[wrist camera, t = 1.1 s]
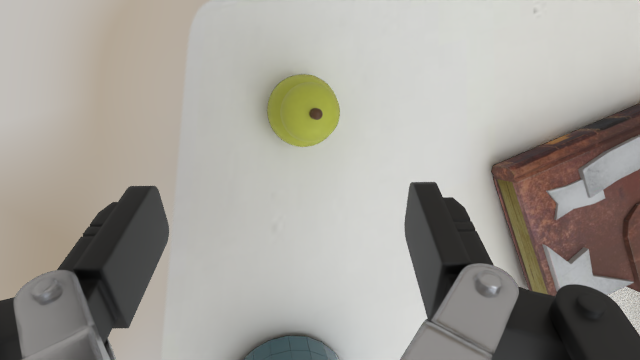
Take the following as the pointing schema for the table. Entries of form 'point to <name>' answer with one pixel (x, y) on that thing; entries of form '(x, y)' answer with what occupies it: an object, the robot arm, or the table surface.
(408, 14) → the table surface
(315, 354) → the bowl
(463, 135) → the table surface
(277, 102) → the pear
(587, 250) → the book
